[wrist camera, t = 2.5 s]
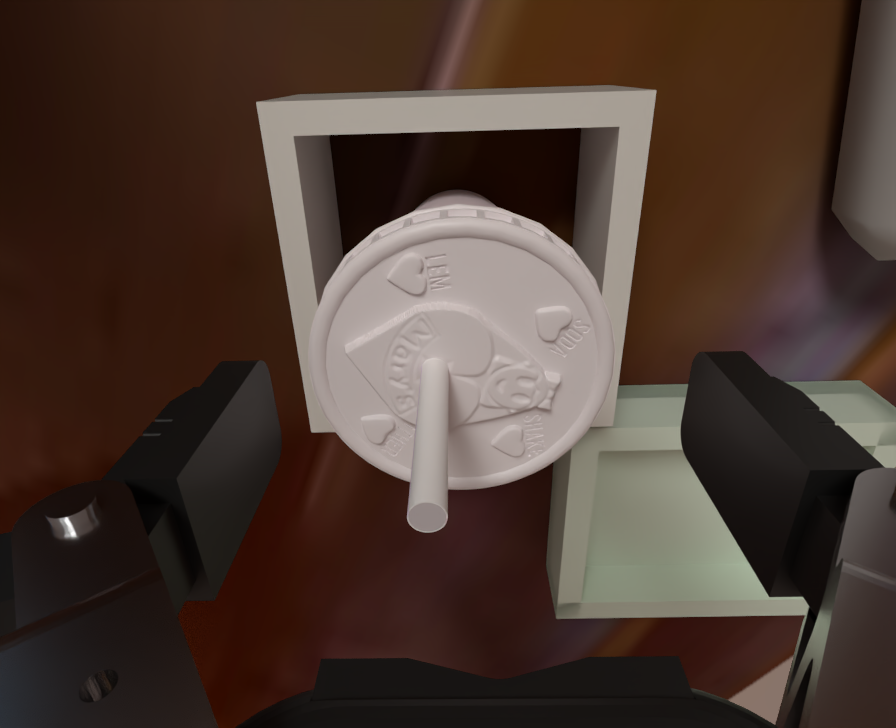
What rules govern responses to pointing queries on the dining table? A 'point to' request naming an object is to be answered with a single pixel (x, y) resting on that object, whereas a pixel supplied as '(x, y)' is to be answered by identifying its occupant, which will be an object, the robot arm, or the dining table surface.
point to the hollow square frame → (319, 115)
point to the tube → (870, 136)
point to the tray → (669, 512)
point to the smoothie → (460, 350)
